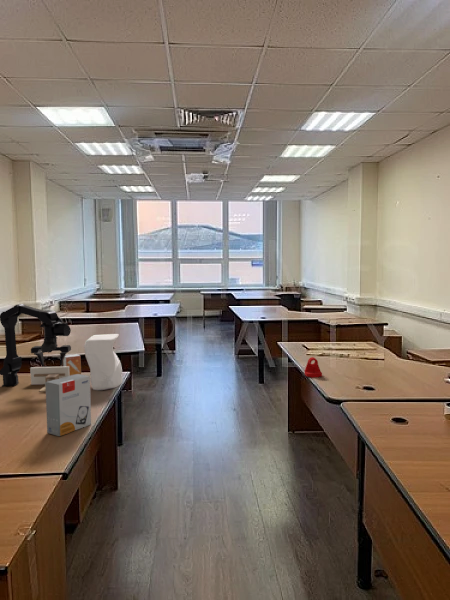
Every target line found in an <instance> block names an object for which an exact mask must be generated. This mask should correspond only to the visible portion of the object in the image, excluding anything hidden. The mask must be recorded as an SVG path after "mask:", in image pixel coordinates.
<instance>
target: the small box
mask: <svg viewBox="0 0 450 600" xmlns="http://www.w3.org/2000/svg"><path fill="white" fill-rule="evenodd" d="M81 360H82V359H81V355H80V354H79V353H74V354H66V355H65V357H64V360H63V363H62V364H63V366H69V372H70V376H71V375H75V374H81V375H82V363H81Z"/></svg>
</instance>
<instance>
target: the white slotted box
mask: <svg viewBox="0 0 450 600" xmlns="http://www.w3.org/2000/svg"><path fill="white" fill-rule="evenodd" d="M29 369H30V385H31V386H33V385H44V386H43V387H42V388H40V389H39V391H38V392H46V386H45V383H46V380H45V377H47V376H48V375H49V374H59V379H60V378H64V377H67V376H70V372H69V366H64V365H63V366H36V367H34V366H33V367H32V366H31V367H29Z"/></svg>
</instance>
